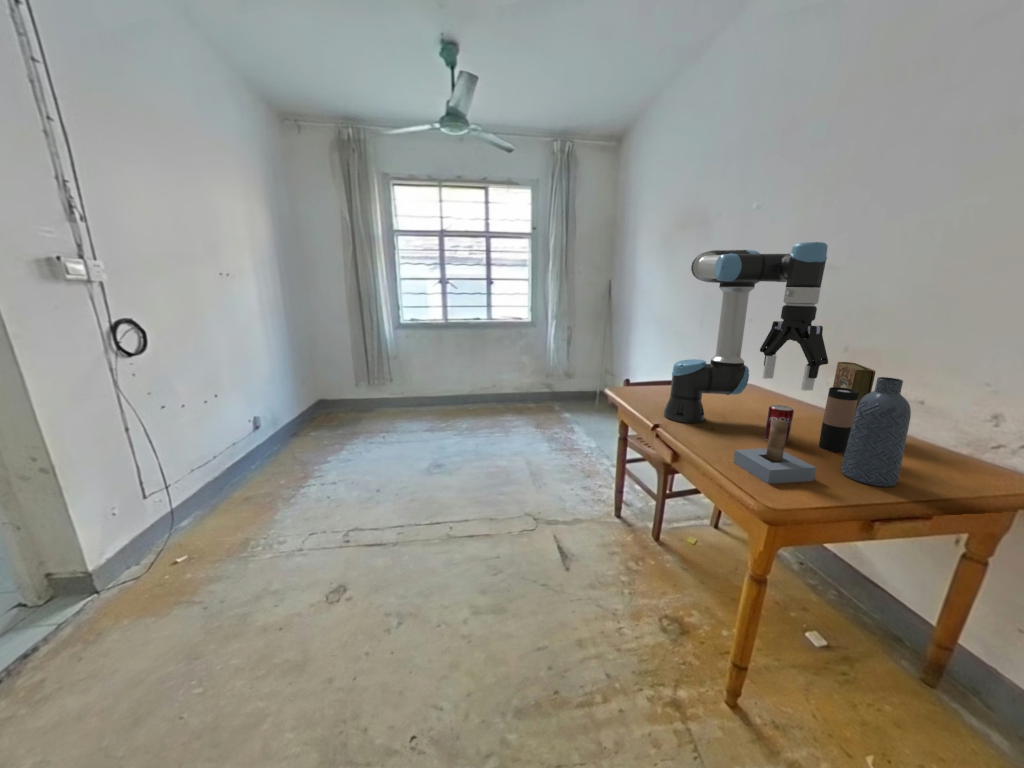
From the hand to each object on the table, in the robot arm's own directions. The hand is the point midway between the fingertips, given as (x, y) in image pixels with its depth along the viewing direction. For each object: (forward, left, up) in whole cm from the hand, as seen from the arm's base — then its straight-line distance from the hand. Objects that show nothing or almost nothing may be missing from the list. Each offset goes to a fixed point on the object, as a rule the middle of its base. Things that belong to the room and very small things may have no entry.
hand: (786, 383), depth 112 cm
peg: (0, 0, -26) cm, 26 cm away
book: (-26, +50, -26) cm, 62 cm away
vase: (+7, +24, -26) cm, 36 cm away
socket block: (0, 0, -26) cm, 26 cm away
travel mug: (-13, +33, -26) cm, 44 cm away
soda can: (-22, +20, -26) cm, 39 cm away
